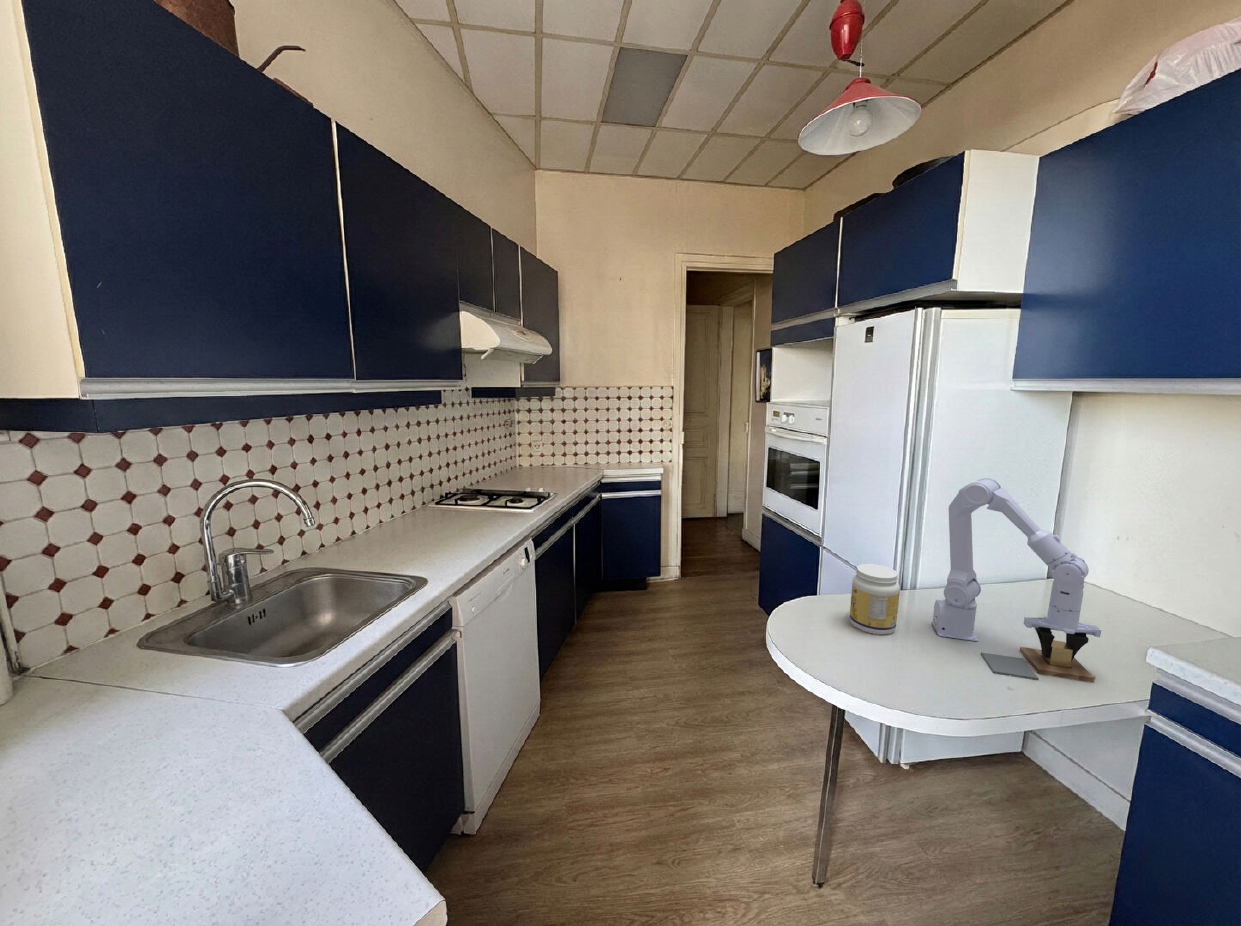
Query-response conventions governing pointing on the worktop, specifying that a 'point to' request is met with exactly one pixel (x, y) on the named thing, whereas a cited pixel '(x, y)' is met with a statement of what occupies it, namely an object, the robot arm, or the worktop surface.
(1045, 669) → the walnut square frame
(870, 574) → the supplement tub
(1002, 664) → the charcoal mat
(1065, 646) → the brass plug
